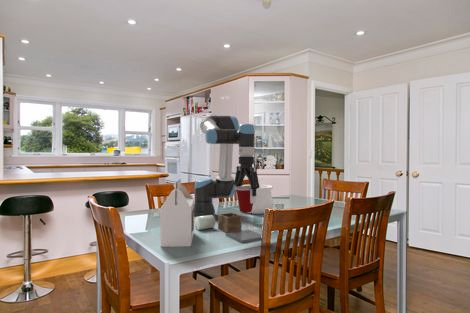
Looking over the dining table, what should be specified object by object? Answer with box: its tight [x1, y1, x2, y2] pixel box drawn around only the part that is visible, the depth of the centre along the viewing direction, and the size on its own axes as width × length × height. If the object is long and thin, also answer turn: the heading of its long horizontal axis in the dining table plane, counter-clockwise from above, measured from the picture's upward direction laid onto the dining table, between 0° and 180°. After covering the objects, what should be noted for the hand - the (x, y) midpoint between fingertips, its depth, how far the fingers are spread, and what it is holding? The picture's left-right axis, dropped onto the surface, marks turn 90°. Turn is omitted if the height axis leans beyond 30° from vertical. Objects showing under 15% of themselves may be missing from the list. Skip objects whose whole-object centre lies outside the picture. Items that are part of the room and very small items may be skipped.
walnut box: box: [217, 212, 243, 234], centre depth 165 cm, size 9×9×8 cm
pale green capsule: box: [194, 215, 216, 231], centre depth 168 cm, size 9×7×7 cm
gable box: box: [160, 178, 195, 248], centre depth 147 cm, size 22×13×28 cm, turn 4°
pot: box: [242, 184, 275, 215], centre depth 217 cm, size 26×24×18 cm
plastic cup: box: [235, 186, 254, 213], centre depth 152 cm, size 11×11×12 cm
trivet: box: [225, 229, 262, 244], centre depth 152 cm, size 14×14×1 cm
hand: (246, 201), depth 151 cm, fingers closed on plastic cup, 11 cm apart
